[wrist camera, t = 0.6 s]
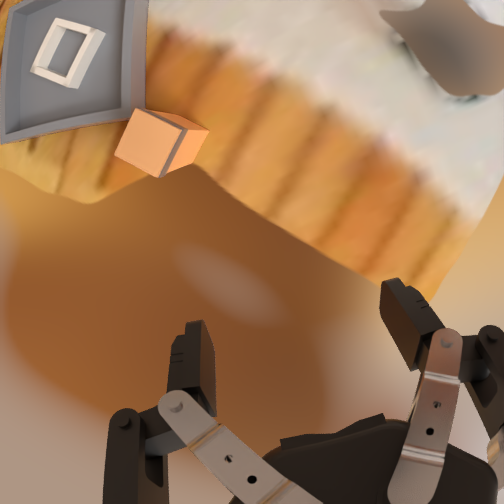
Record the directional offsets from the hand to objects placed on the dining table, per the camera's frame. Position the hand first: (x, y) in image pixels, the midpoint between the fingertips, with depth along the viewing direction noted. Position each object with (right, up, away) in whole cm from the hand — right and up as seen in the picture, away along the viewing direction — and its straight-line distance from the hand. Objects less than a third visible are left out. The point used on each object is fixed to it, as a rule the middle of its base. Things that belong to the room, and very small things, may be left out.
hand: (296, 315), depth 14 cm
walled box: (-26, +30, +19) cm, 44 cm away
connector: (-10, +16, +23) cm, 30 cm away
